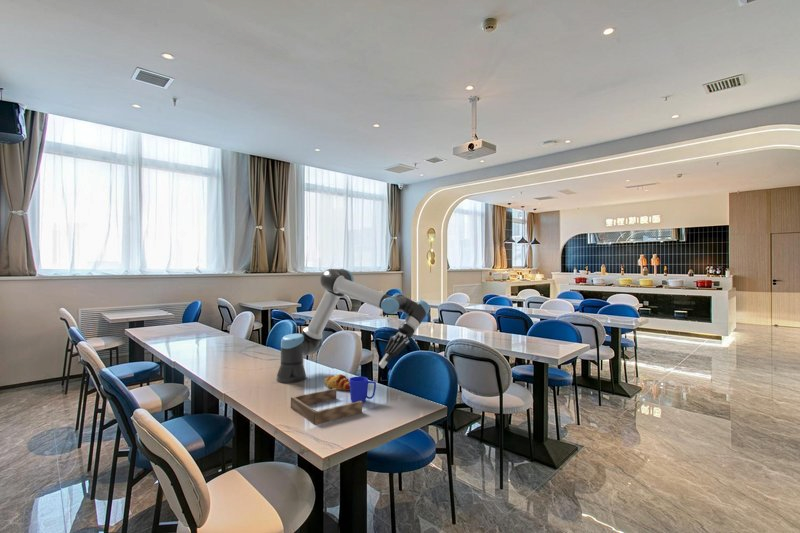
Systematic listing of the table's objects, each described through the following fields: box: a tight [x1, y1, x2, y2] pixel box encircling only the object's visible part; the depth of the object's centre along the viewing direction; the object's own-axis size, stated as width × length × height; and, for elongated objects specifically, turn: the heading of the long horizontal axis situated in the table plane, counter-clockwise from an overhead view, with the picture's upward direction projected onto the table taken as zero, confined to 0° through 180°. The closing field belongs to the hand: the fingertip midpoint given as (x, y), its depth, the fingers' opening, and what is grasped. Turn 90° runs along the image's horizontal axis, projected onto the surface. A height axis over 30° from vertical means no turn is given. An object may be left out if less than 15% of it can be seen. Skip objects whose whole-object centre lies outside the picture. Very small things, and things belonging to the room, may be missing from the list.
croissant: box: [324, 373, 350, 391], centre depth 191 cm, size 21×10×8 cm, turn 48°
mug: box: [349, 376, 377, 403], centre depth 170 cm, size 8×12×10 cm
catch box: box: [290, 388, 363, 425], centre depth 158 cm, size 21×22×4 cm
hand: (380, 366), depth 175 cm, fingers closed
